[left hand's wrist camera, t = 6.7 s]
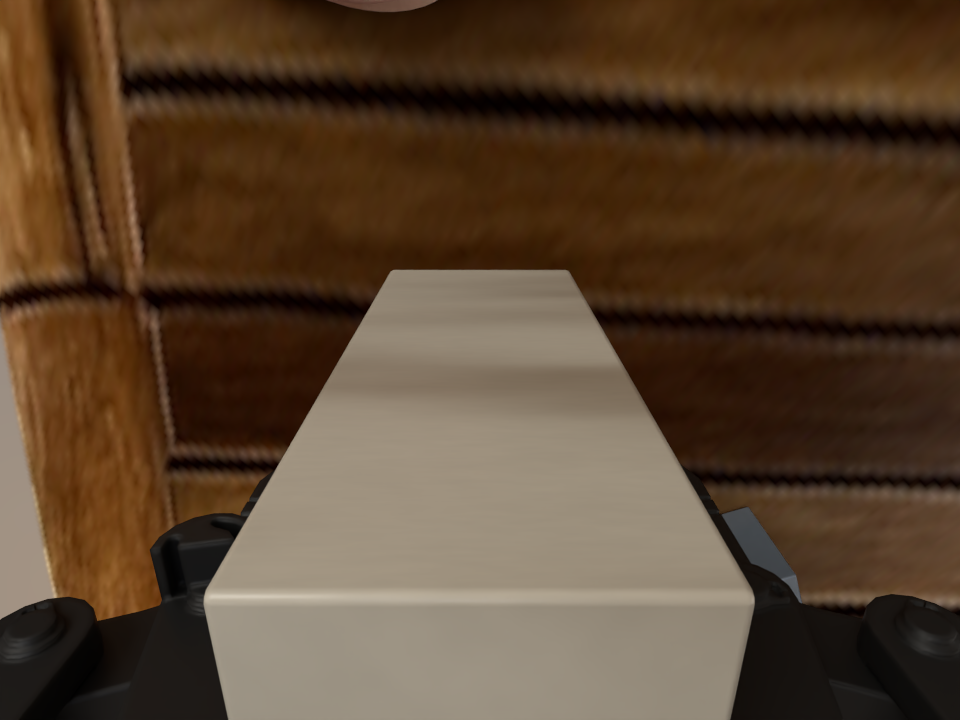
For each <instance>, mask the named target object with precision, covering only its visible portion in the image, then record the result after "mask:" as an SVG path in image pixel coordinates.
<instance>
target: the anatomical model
mask: <svg viewBox="0 0 960 720" xmlns="http://www.w3.org/2000/svg"><path fill="white" fill-rule="evenodd" d="M327 1H331V2H334V3H337V4H340V5H344V6H347V7H351V8H356V9H361V10H368V11H377V12H398V11H407V10H413V9H416V8H420V7H424V6H426V5H429V4H431V3H433V2H435V1H437V0H327Z"/></svg>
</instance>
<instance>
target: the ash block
mask: <svg viewBox="0 0 960 720" xmlns="http://www.w3.org/2000/svg"><path fill="white" fill-rule="evenodd" d="M754 606H755V597H754V594H753V590H752V588H751V587H750V585H749V583H748V582H747V580H746V578H745V576H744V575H743V573H742V571H741V569H740V568H739V566H738V564H737V562H736V561H735V559H734V557H733V555H732V554H731V552H730V550H729V549H728V547H727V545H726V543H725V542H724V540H723V538H722V536H721V535H720V533H719V531H718V529H717V528H716V526H715V524H714V523H713V521H712V519H711V517H710V516H709V514H708V512H707V510H706V509H705V507H704V505H703V503H702V502H701V500H700V498H699V496H698V495H697V493H696V491H695V490H694V488H693V486H692V484H691V483H690V481H689V479H688V477H687V476H686V474H685V472H684V470H683V469H682V467H681V465H680V463H679V462H678V460H677V458H676V457H675V455H674V453H673V451H672V450H671V448H670V446H669V444H668V443H667V441H666V439H665V437H664V436H663V434H662V432H661V430H660V429H659V427H658V425H657V424H656V422H655V420H654V418H653V417H652V415H651V413H650V411H649V410H648V408H647V406H646V404H645V403H644V401H643V399H642V397H641V396H640V394H639V392H638V391H637V389H636V387H635V385H634V384H633V382H632V380H631V378H630V377H629V375H628V373H627V371H626V370H625V368H624V366H623V364H622V363H621V361H620V359H619V358H618V356H617V354H616V352H615V351H614V349H613V347H612V345H611V344H610V342H609V340H608V338H607V337H606V335H605V333H604V331H603V330H602V328H601V326H600V325H599V323H598V321H597V319H596V318H595V316H594V314H593V312H592V311H591V309H590V307H589V305H588V304H587V302H586V300H585V298H584V297H583V295H582V293H581V292H580V290H579V288H578V286H577V285H576V283H575V281H574V279H573V278H572V276H571V274H570V272H569V271H567V270H393V271H391V272H390V274H389V276H388V277H387V279H386V281H385V282H384V284H383V286H382V288H381V289H380V291H379V293H378V294H377V296H376V298H375V300H374V301H373V303H372V305H371V307H370V308H369V310H368V312H367V313H366V315H365V317H364V319H363V320H362V322H361V324H360V326H359V327H358V329H357V331H356V332H355V334H354V336H353V338H352V339H351V341H350V343H349V344H348V346H347V348H346V350H345V351H344V353H343V355H342V357H341V358H340V360H339V362H338V363H337V365H336V367H335V369H334V370H333V372H332V374H331V375H330V377H329V379H328V381H327V382H326V384H325V386H324V388H323V389H322V391H321V393H320V394H319V396H318V398H317V400H316V401H315V403H314V405H313V406H312V408H311V410H310V412H309V413H308V415H307V417H306V419H305V420H304V422H303V424H302V425H301V427H300V429H299V431H298V432H297V434H296V436H295V437H294V439H293V441H292V443H291V444H290V446H289V448H288V450H287V451H286V453H285V455H284V456H283V458H282V460H281V462H280V463H279V465H278V467H277V469H276V470H275V472H274V474H273V475H272V477H271V479H270V481H269V482H268V484H267V486H266V487H265V489H264V491H263V493H262V494H261V496H260V498H259V500H258V501H257V503H256V505H255V506H254V508H253V510H252V512H251V513H250V515H249V517H248V518H247V520H246V522H245V524H244V525H243V527H242V529H241V531H240V532H239V534H238V536H237V537H236V539H235V541H234V543H233V544H232V546H231V548H230V549H229V551H228V553H227V555H226V556H225V558H224V560H223V562H222V563H221V565H220V567H219V568H218V570H217V572H216V574H215V575H214V577H213V579H212V581H211V582H210V584H209V586H208V587H207V589H206V592H205V595H204V609H205V613H206V618H207V623H208V627H209V632H210V636H211V641H212V646H213V650H214V655H215V660H216V664H217V669H218V674H219V678H220V683H221V688H222V692H223V697H224V702H225V706H226V711H227V716H228V720H730V718H731V714H732V709H733V704H734V700H735V695H736V690H737V686H738V681H739V676H740V672H741V667H742V662H743V658H744V653H745V648H746V643H747V639H748V634H749V629H750V625H751V620H752V615H753V611H754Z"/></svg>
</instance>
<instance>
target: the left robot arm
mask: <svg viewBox="0 0 960 720" xmlns="http://www.w3.org/2000/svg"><path fill="white" fill-rule="evenodd" d="M680 465H681V464H680ZM681 467H682V469H683V470H684V472H685V474H686V476H687V477H688V479H689V481H690V483H691V484H692V486H693V488H694V490H695V491H696V493H697V495H698V496H699V498H700V500H701V502H702V503H703V505H704V507H705V509H706V510H707V512H708V514H709V516H710V517H711V519H712V521H713V523H714V524H715V526H716V528H717V529H718V531H719V533H720V535H721V536H722V538H723V540H724V542H725V543H726V545H727V547H728V549H729V550H730V552H731V554H732V555H733V557H734V559H735V561H736V562H737V564H738V566H739V568H740V569H741V571H742V573H743V575H744V576H745V578H746V580H747V582H748V583H749V585H750V587H751V588H752V590H753V594H754V597H755V606H754V611H753V615H752V620H751V625H750V629H749V634H748V639H747V643H746V648H745V653H744V658H743V662H742V667H741V672H740V676H739V681H738V686H737V690H736V695H735V700H734V704H733V709H732V714H731V718H730V720H960V617H959V616H958V615H956V614H954V613H952V612H950V611H948V610H947V609H945V608H943V607H941V606H939V605H937V604H935V603H931V602H928V601H925V600H922V599H919V598H916V597H913V596H904V595H895V594H890V595H885V596H880V597H876V598H875V599H873V600H872V601H871V602H870V603H869V604H868V605H867V607H866V610H865V613H864V617H863V619H862V618H857V617H853V616H848V615H844V614H840V613H835V612H831V611H827V610H822V609H818V608H815V607H812V606H808V605H805V604H802V603H800V602H799V600H798V598H797V597H796V595H795V594H794V592H793V591H792V589H791V588H790V586H789V585H788V584H787V583H785V582H784V581H783V580H782V579H780V578H779V577H778V576H777V575H775V574H774V573H772V572H770V571H768V570H766V569H764V568H762V567H760V566H758V565H755V564H751V562H750V561H749V559H748V557H747V556H746V554H745V552H744V551H743V549H742V547H741V546H740V544H739V543H738V541H737V539H736V538H735V536H734V534H733V533H732V531H731V529H730V528H729V526H728V524H727V523H726V521H725V520H724V518H723V516H722V515H721V514H719V510H718V508H717V506H716V505H715V503H714V501H713V500H711V499H710V495H709V493H708V492H707V490H706V488H705V487H704V485H703V483H702V482H701V480H700V479H699V478H698V477H697V476H695V475H694V474H693V473H691V472H690V471H689V470H687V469H686V468H685V467H683V466H682V465H681ZM275 470H276V469H275ZM275 470H274V471H273V472H271V473H270V474H269V475H267V476H266V477H265V478H263V479H262V480H261V481H260V482H259V484H258V485H257V487H256V488H255V490H254V492H253V493H252V495H251V497H250V501H249V502H247V503H246V505H245V507H244V508H243V510H242V512H241V516H240V515H236V514H233V513H214V514H209V515H205V516H200V517H195V518H192V519H190V520H188V521H185V522H183V523H181V524H178V525H176V526H174V527H173V528H171V529H170V530H169V531H167V532H166V533H164V534H163V535H162V536H160V537H159V538H158V540H157V541H156V542H155V544H154V545H153V546H152V548H151V549H150V553H151V557H152V561H153V565H154V569H155V573H156V577H157V581H158V585H159V589H160V593H161V597H162V602H161V604H160V605H159V606H156V607H153V608H150V609H147V610H143V611H140V612H135V613H131V614H127V615H122V616H118V617H114V618H109V619H105V620H101V621H97V618H96V615H95V612H94V608H93V607H91V606H90V605H89V604H88V603H87V602H86V601H85V600H82V599H77V598H72V597H62V598H53V599H46V600H44V601H40V602H37V603H34V604H31V605H28V606H25V607H23V608H21V609H19V610H17V611H15V612H13V613H12V614H10V615H8V616H6V617H4V618H2V619H1V620H0V720H228V716H227V711H226V706H225V702H224V697H223V692H222V688H221V683H220V678H219V674H218V669H217V664H216V660H215V655H214V650H213V646H212V641H211V636H210V632H209V627H208V623H207V618H206V613H205V609H204V595H205V592H206V589H207V587H208V586H209V584H210V582H211V581H212V579H213V577H214V575H215V574H216V572H217V570H218V568H219V567H220V565H221V563H222V562H223V560H224V558H225V556H226V555H227V553H228V551H229V549H230V548H231V546H232V544H233V543H234V541H235V539H236V537H237V536H238V534H239V532H240V531H241V529H242V527H243V525H244V524H245V522H246V520H247V518H248V517H249V515H250V513H251V512H252V510H253V508H254V506H255V505H256V503H257V501H258V500H259V498H260V496H261V494H262V493H263V491H264V489H265V487H266V486H267V484H268V482H269V481H270V479H271V477H272V475H273V474H274V472H275Z"/></svg>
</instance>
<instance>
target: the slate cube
mask: <svg viewBox="0 0 960 720" xmlns="http://www.w3.org/2000/svg"><path fill="white" fill-rule="evenodd" d="M721 515H722V516H723V518H724V520H725V521H726V523H727V524H728V526H729V528H730V529H731V531H732V533H733V534H734V536H735V538H736V539H737V541H738V543H739V544H740V546H741V547H742V549H743V551H744V552H745V554H746V556H747V557H748V559H749V561H750V562H751V564H755V565H758V566H760V567H762V568H764V569H766V570H768V571H770V572H772V573H774V574H775V575H777V576H778V577H779V578H780V579H782V580H783V581H784V582H785V583H787V584H788V585H789V586H790V588H791V589H792V591H793V592H794V594H795V595H796V597H797V598H798V600H799V602H800V603H802V601H801V596H800V591H799V587H798V582H797V577H796V575H795V573H794V572H793V570H792V569H791V567H790V566H789V564H788V563H787V562H786V560H785V559H784V557H783V556H782V554H781V553H780V551H779V550H778V549H777V547H776V546H775V544H774V543H773V541H772V540H771V539H770V537H769V536H768V534H767V533H766V531H765V530H764V528H763V527H762V526H761V524H760V523H759V521H758V520H757V518H756V517H755V516H754V514H753V513H752V511H751V510H750V508H749V507H745V508H741V509H738V510H734V511H731V512H728V513H724V514H721Z"/></svg>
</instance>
